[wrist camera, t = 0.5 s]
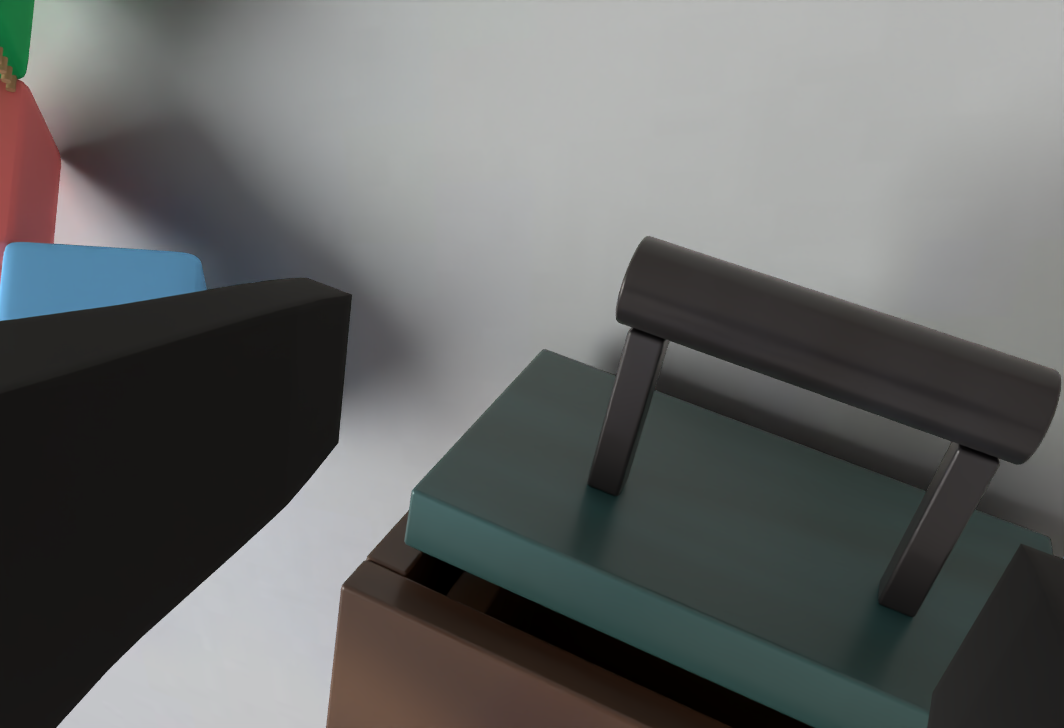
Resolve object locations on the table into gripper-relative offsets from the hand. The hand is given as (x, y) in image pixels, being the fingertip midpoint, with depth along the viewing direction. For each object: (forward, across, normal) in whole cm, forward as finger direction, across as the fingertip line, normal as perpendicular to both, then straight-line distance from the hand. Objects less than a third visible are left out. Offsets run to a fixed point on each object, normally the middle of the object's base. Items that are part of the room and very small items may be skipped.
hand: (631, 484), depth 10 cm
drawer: (+9, -1, +8) cm, 12 cm away
